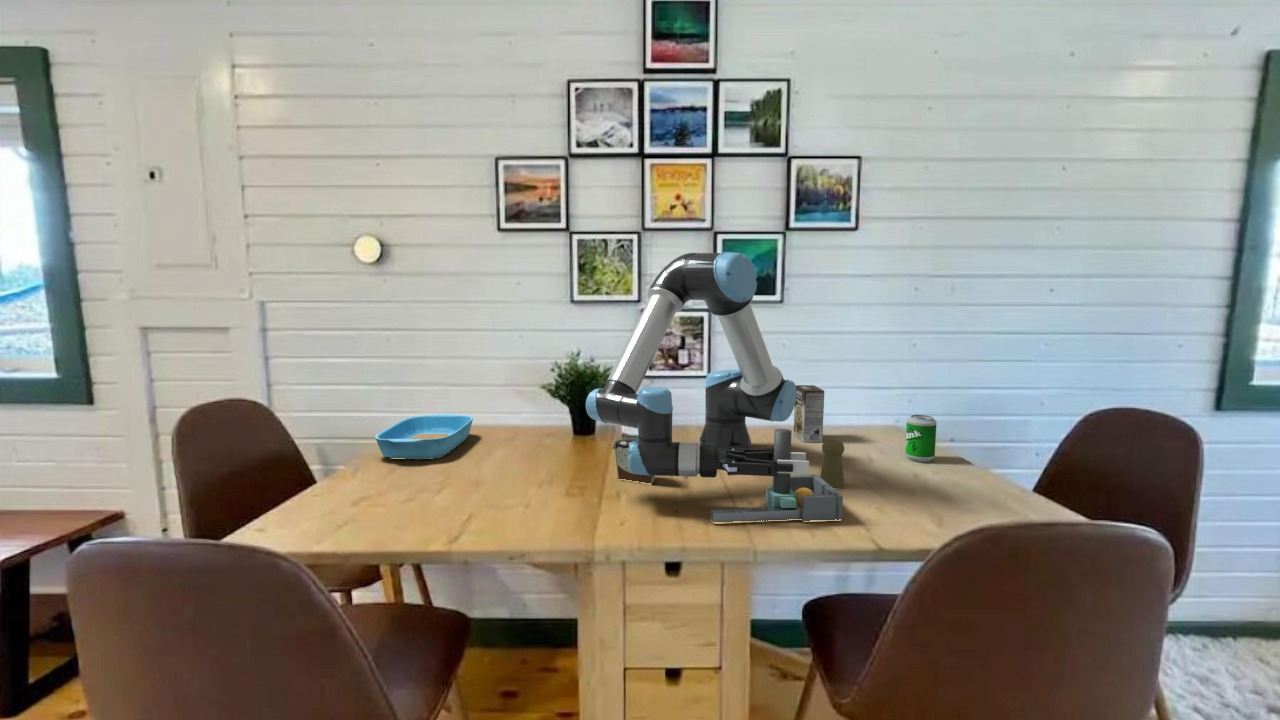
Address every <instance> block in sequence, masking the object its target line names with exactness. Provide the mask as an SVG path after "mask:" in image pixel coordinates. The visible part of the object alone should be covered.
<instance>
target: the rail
mask: <svg viewBox="0 0 1280 720" xmlns="http://www.w3.org/2000/svg"><path fill="white" fill-rule="evenodd" d="M787 519H788V520H789V519H802V509H801V508H800V507H799V506H798V507H796V508H782V507H775V508H768V507H755V508H735V509H733V508H732V509H712V510H710V521H711V520H712V521H713V522H733V521H758V520H759V521H761V520H762V521H763V520H764V521H766V520H767V521H768V520H787Z"/></svg>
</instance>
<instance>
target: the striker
mask: <svg viewBox="0 0 1280 720" xmlns="http://www.w3.org/2000/svg"><path fill="white" fill-rule="evenodd" d="M773 438H774V439H773V442H774V443H773V444H774V445H773V448H774V461H777V460H791V452H792V430H791V429H789V428H788V429H787V428H776V429H774V436H773ZM790 476H791V473H777V477H774V476H772V477H773V481H772V484H773V485H772V486H768V487H767V486H766V488H765V490H766V491H765V493H766V494H765V506H767V507H766V508H775V507H782V508H796V507H797V495H796V494H795V493H794V492H793V491H792V490H791V489H790Z"/></svg>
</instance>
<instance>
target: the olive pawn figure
mask: <svg viewBox="0 0 1280 720" xmlns="http://www.w3.org/2000/svg"><path fill="white" fill-rule="evenodd" d="M821 450H822V453H823V458H822V459H823V460H822V465H821V471H820V475H819V477H820V478H822V479H823V480H824V481H825V482H826V483H828V484H829V485H830V486H831V487H832V488H840V489H844V488H845V475H844V467H843V456H842V455H844V451H845V445H844V443H843V442H841V441H840V440H836V439H829V440H825V441H824V442H823V443H822V445H821Z"/></svg>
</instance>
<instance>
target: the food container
mask: <svg viewBox="0 0 1280 720" xmlns="http://www.w3.org/2000/svg"><path fill="white" fill-rule="evenodd" d="M636 440H638V437H628V438H620V439H616V440H614V441H613V444H612V450H614V454H615V462H616V473H617V480H618V479H626V480H632V481H639V482H645V483H651V484H653V483H654V484H655V477H656V476H648V475H639V474H633V473H632V472H631V471H630V469H629V464H628V456H629V446H630V443H631V442H632V441H636ZM654 484H653V485H654Z"/></svg>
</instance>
